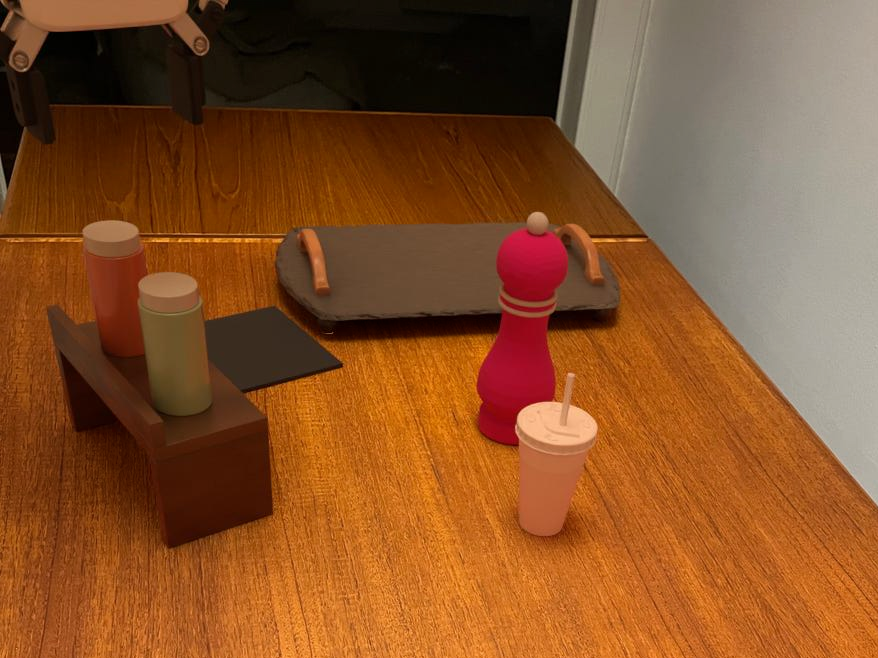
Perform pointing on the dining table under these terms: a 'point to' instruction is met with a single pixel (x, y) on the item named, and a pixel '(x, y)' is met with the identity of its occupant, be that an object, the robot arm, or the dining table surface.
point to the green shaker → (175, 343)
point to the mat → (264, 349)
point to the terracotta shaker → (115, 284)
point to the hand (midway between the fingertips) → (117, 127)
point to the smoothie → (551, 460)
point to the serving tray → (425, 271)
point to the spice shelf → (172, 435)
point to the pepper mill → (522, 329)
